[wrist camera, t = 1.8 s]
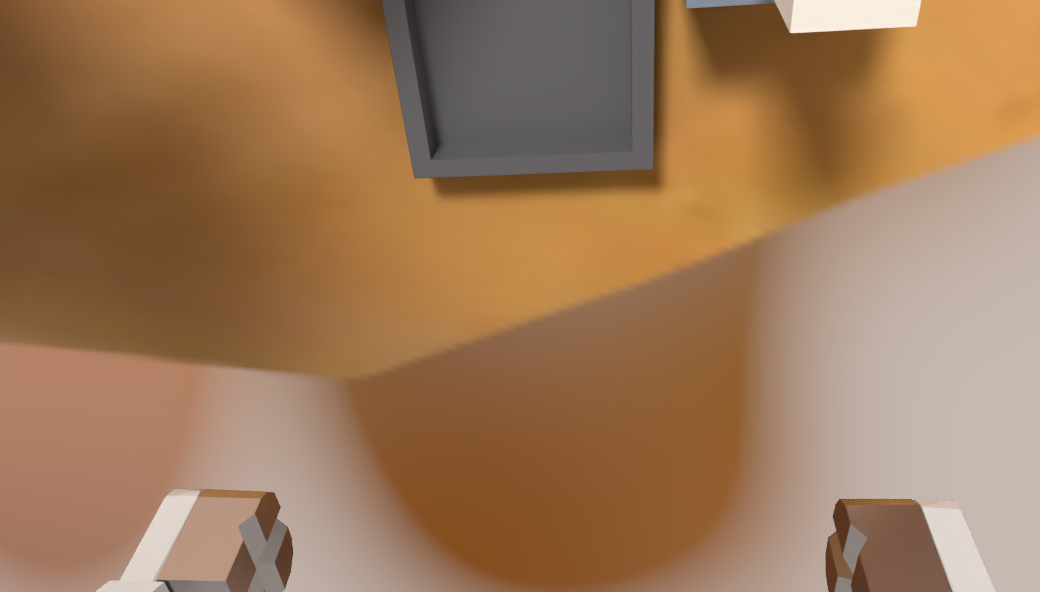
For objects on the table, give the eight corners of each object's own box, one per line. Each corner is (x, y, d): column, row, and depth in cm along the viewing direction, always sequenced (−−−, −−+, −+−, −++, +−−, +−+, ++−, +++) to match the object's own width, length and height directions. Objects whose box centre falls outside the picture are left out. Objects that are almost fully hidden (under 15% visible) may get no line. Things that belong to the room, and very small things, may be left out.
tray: (380, -86, 38) (368, -71, 36) (652, -106, 36) (655, -92, 34) (422, 155, 45) (414, 178, 43) (650, 145, 44) (653, 169, 42)
